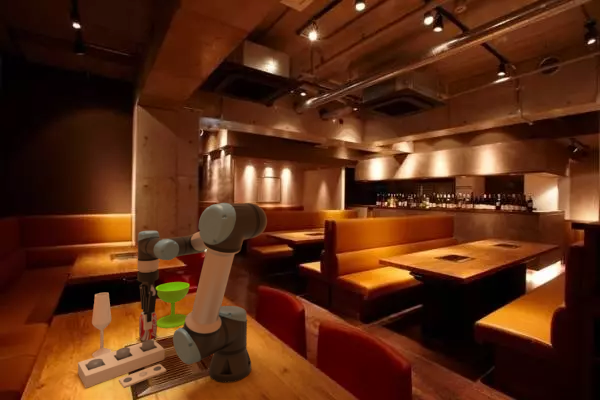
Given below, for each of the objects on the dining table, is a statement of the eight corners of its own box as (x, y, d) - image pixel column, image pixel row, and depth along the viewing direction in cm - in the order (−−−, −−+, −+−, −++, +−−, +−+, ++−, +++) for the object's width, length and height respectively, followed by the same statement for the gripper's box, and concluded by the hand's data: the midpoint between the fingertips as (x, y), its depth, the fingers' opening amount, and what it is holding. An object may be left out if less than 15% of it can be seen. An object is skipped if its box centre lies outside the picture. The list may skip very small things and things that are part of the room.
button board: (164, 359, 122) (164, 349, 122) (85, 388, 104) (85, 376, 104) (152, 348, 131) (152, 339, 131) (78, 373, 112) (78, 362, 112)
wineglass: (172, 313, 169) (172, 280, 169) (196, 318, 164) (196, 284, 163) (148, 325, 154) (148, 288, 154) (173, 330, 149) (173, 292, 148)
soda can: (149, 343, 136) (149, 315, 136) (135, 341, 137) (135, 314, 137) (160, 335, 143) (160, 309, 142) (146, 334, 144) (146, 308, 144)
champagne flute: (113, 347, 131) (113, 291, 131) (109, 355, 125) (109, 295, 125) (94, 350, 129) (94, 292, 129) (89, 358, 123) (89, 297, 122)
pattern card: (166, 371, 114) (166, 369, 114) (124, 388, 104) (124, 385, 104) (159, 365, 118) (159, 363, 118) (118, 380, 108) (118, 378, 108)
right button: (156, 351, 124) (156, 342, 124) (144, 355, 121) (144, 346, 120) (151, 347, 127) (151, 338, 127) (140, 351, 124) (140, 342, 124)
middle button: (131, 359, 117) (131, 350, 117) (118, 364, 114) (118, 354, 114) (127, 355, 120) (127, 346, 120) (114, 359, 117) (114, 350, 117)
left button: (103, 372, 111) (103, 362, 111) (89, 377, 108) (89, 366, 108) (100, 367, 114) (100, 357, 114) (86, 371, 111) (86, 361, 111)
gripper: (164, 271, 121) (164, 331, 122) (151, 265, 130) (151, 321, 131) (144, 274, 116) (143, 337, 116) (132, 268, 125) (132, 326, 126)
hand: (147, 328), depth 124 cm, fingers closed
